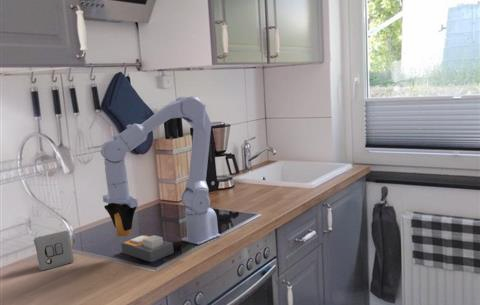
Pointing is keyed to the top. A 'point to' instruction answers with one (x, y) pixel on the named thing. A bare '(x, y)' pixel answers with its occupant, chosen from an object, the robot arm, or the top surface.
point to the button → (153, 242)
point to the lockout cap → (120, 226)
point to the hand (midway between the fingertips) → (123, 228)
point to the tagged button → (138, 240)
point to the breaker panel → (147, 250)
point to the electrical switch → (54, 250)
